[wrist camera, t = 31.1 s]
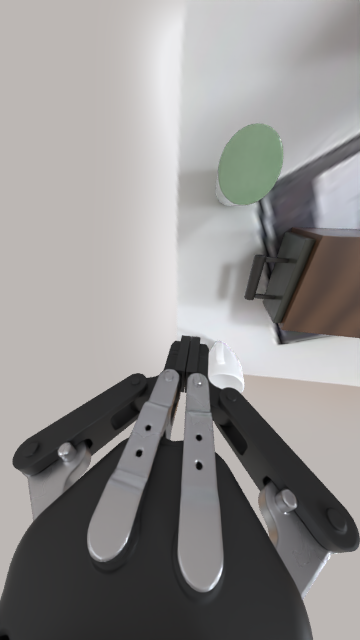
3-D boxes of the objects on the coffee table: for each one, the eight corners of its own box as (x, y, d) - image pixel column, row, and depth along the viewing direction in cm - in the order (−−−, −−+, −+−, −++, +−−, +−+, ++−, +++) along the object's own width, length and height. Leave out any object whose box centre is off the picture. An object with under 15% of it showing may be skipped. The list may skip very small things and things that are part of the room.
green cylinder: (217, 167, 25) (222, 124, 12) (250, 167, 24) (294, 121, 11) (213, 205, 27) (214, 204, 14) (243, 206, 27) (272, 205, 14)
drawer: (237, 300, 35) (242, 319, 29) (253, 230, 28) (265, 237, 22) (336, 308, 32) (365, 332, 26) (382, 235, 25) (435, 244, 19)
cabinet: (266, 303, 35) (281, 329, 27) (292, 227, 27) (323, 235, 20) (345, 309, 33) (385, 340, 26) (397, 230, 25) (476, 241, 18)
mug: (238, 359, 45) (245, 399, 35) (207, 360, 47) (205, 398, 37) (236, 321, 39) (244, 358, 29) (200, 324, 41) (196, 360, 31)
